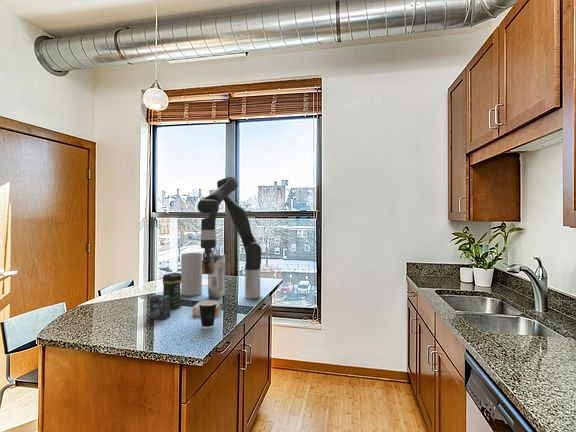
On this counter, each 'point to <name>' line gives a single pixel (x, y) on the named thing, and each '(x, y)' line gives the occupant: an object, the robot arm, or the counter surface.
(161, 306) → the box
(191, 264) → the cylinder vase
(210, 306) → the dixie cup
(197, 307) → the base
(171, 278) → the coffee jar
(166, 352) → the counter surface
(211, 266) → the walnut block
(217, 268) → the juice carton
